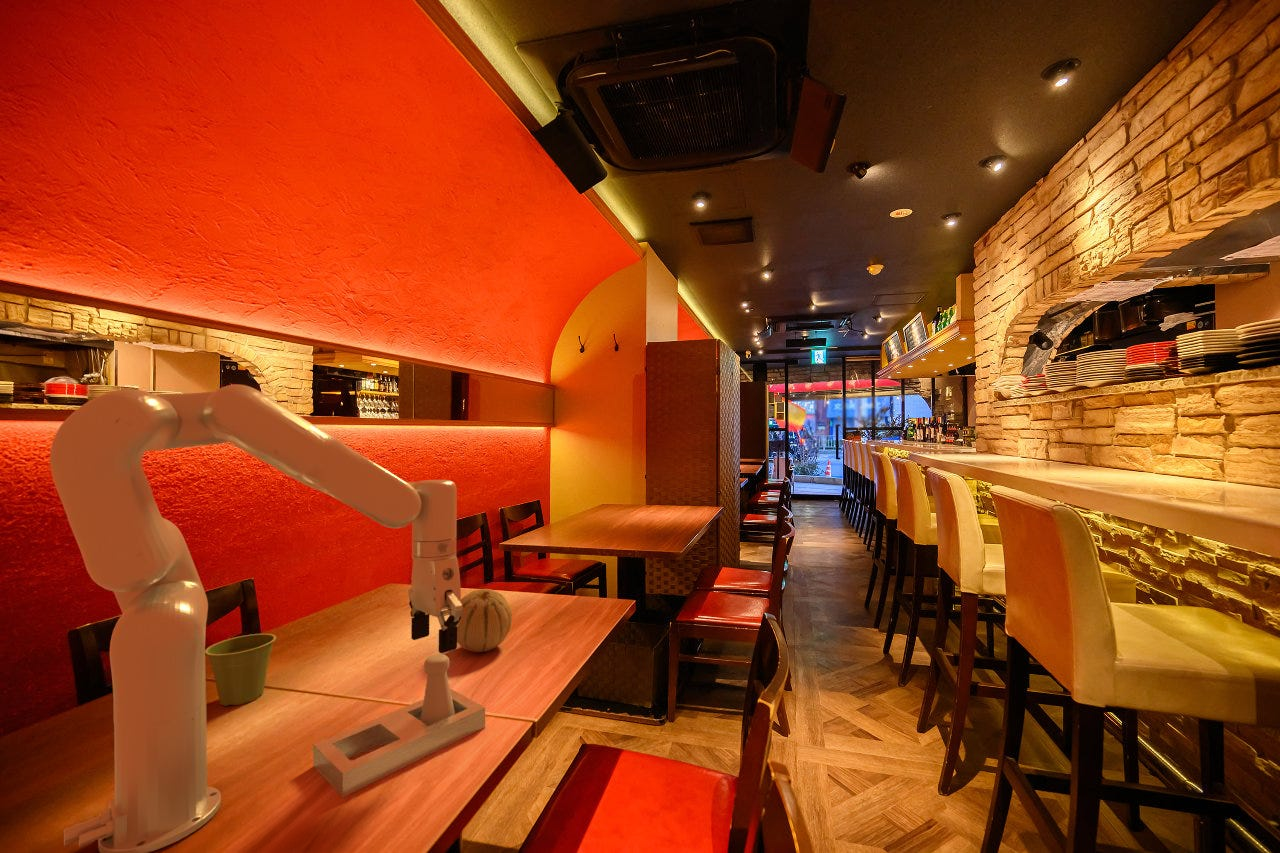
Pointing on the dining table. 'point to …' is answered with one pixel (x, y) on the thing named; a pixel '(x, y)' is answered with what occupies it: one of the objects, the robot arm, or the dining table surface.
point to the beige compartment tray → (392, 743)
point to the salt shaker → (437, 691)
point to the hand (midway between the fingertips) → (433, 644)
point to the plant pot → (240, 667)
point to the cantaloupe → (483, 620)
